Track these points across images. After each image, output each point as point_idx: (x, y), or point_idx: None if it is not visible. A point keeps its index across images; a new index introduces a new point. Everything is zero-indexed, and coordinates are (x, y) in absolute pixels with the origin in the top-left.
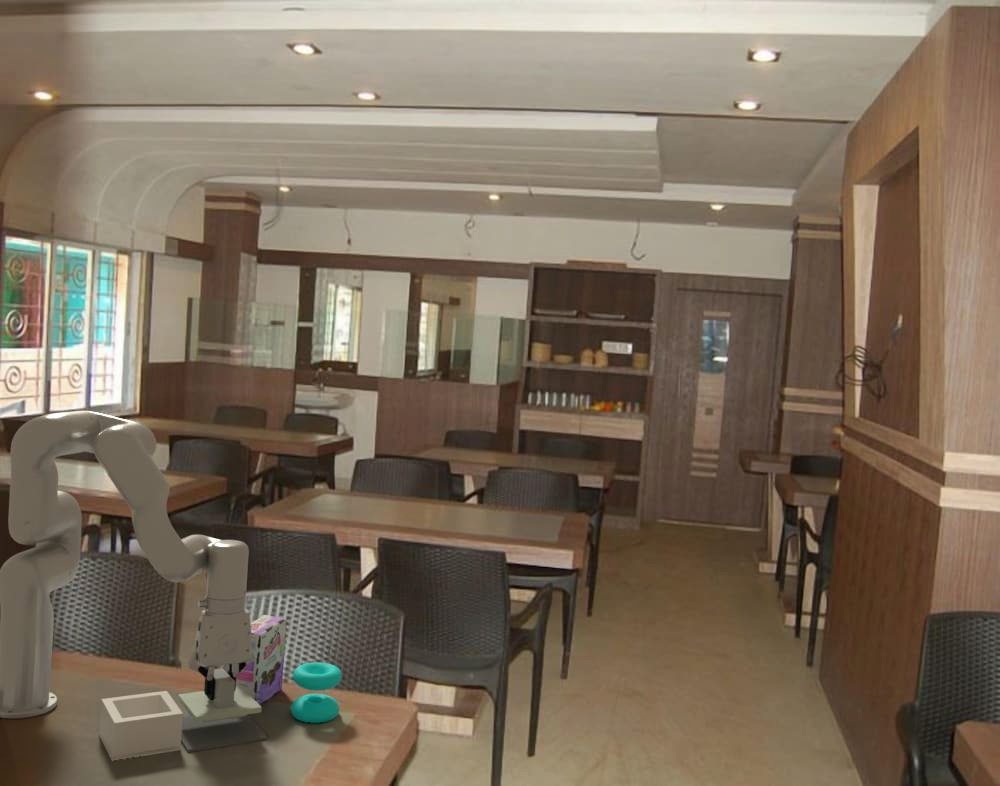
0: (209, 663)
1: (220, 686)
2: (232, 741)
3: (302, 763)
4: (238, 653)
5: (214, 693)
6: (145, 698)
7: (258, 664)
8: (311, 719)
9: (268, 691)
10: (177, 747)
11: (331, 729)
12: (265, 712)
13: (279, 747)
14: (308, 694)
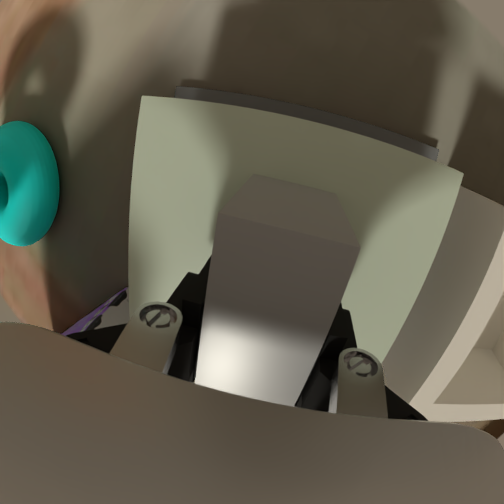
0: (460, 440)
1: (347, 233)
2: (292, 111)
3: None
4: (37, 438)
5: None
6: (465, 399)
7: None
8: (37, 130)
9: (73, 328)
10: None
11: (29, 85)
12: (106, 264)
13: (177, 21)
14: (1, 229)
